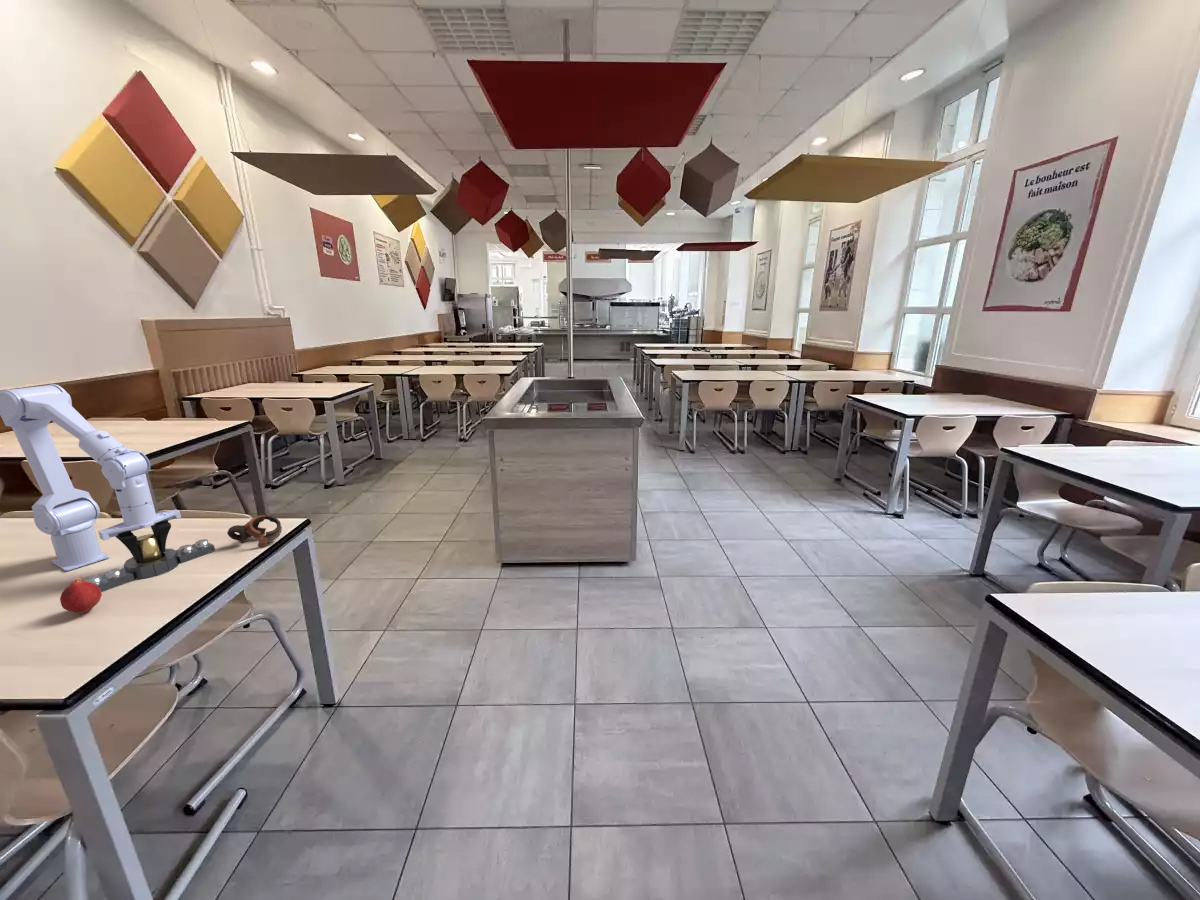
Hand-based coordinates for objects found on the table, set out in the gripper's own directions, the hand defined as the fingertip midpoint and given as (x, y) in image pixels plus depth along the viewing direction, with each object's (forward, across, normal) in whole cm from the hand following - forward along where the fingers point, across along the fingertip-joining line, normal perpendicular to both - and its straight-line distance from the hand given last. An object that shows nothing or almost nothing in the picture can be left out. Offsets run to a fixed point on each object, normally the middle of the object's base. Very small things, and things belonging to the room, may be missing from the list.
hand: (150, 555), depth 118 cm
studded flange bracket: (+4, 0, 0) cm, 4 cm away
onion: (+4, -15, -10) cm, 18 cm away
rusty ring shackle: (+4, +20, -6) cm, 22 cm away
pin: (+2, 0, 0) cm, 2 cm away
